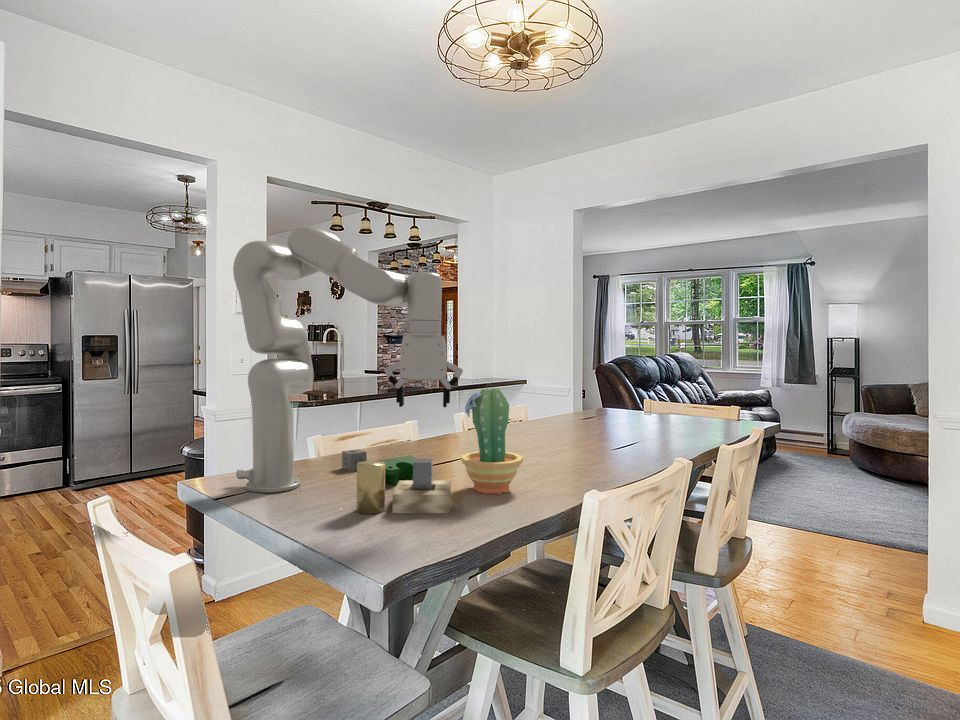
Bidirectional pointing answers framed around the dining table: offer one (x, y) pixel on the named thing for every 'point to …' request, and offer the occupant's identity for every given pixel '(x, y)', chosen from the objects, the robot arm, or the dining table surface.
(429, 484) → the square bit
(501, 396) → the potted cactus
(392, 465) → the clamp
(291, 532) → the dining table surface
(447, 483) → the socket block
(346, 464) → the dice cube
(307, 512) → the dining table surface
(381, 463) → the round bit
